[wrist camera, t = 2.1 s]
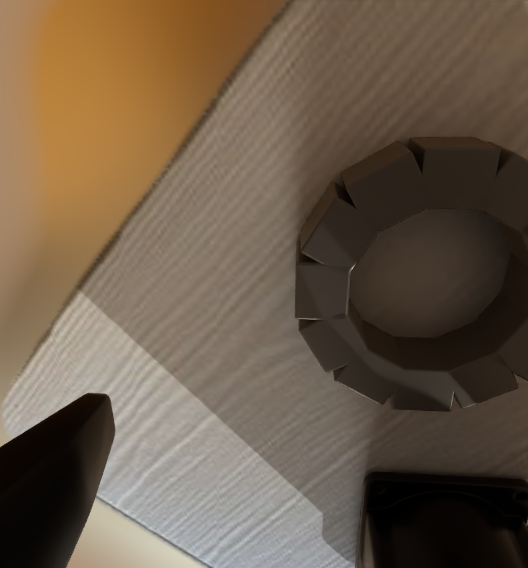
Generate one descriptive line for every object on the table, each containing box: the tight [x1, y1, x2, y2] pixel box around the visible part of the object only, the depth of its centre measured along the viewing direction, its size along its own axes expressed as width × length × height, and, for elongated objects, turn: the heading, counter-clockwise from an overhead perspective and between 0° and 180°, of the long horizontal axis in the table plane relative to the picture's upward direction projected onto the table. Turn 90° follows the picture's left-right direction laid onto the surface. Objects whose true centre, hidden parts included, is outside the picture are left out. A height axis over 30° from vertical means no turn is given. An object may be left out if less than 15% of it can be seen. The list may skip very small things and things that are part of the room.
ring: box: [295, 137, 528, 412], centre depth 15 cm, size 8×8×2 cm
